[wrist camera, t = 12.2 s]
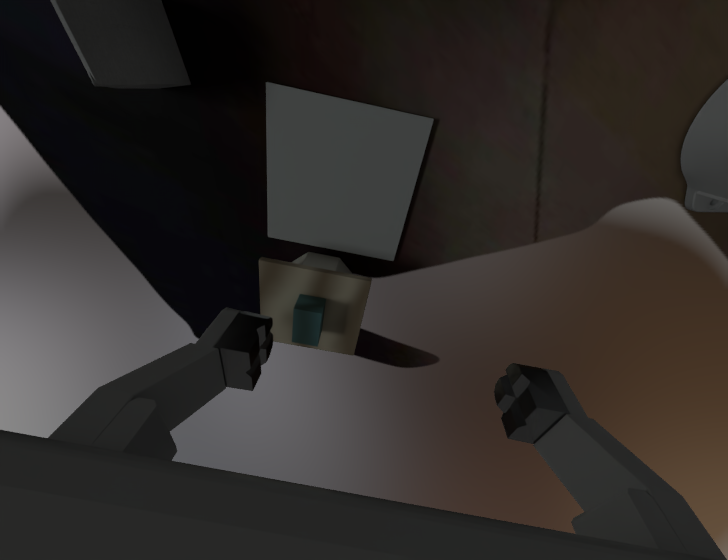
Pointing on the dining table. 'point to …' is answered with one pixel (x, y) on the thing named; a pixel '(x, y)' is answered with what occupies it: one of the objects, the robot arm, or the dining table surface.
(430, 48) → the dining table surface
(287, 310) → the board
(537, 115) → the dining table surface
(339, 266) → the bowl
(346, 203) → the mat
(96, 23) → the dark grey block
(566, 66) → the dining table surface
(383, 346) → the dining table surface
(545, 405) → the robot arm
